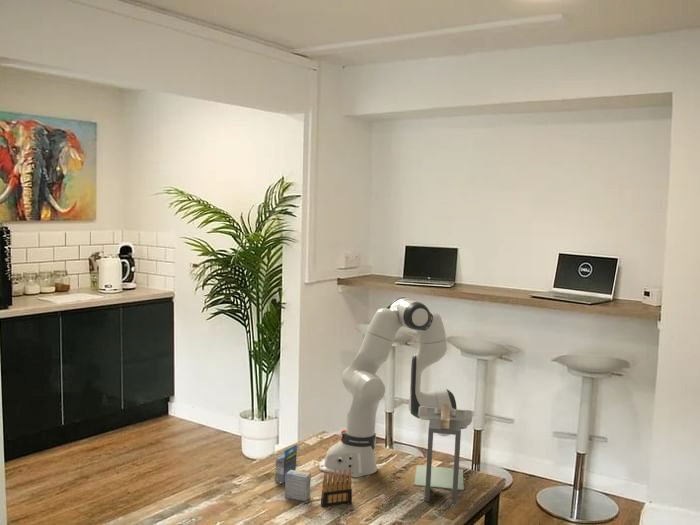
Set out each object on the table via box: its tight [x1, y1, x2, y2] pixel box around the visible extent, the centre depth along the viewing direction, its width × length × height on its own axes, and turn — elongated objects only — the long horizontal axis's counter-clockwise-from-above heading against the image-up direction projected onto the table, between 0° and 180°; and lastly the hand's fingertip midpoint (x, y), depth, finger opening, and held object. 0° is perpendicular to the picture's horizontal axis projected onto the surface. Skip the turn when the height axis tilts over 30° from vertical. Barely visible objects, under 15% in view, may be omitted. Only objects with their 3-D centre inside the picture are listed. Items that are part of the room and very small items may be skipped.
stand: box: [424, 418, 462, 505], centre depth 241 cm, size 11×12×26 cm
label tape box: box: [274, 444, 298, 484], centre depth 251 cm, size 9×4×12 cm, turn 154°
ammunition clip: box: [320, 469, 353, 508], centre depth 231 cm, size 11×2×12 cm, turn 112°
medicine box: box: [284, 470, 312, 502], centre depth 235 cm, size 8×4×9 cm, turn 71°
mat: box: [413, 464, 465, 491], centre depth 259 cm, size 18×20×1 cm
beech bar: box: [440, 404, 450, 429], centre depth 244 cm, size 3×20×3 cm, turn 171°
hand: (445, 409), depth 251 cm, fingers closed on beech bar, 3 cm apart
